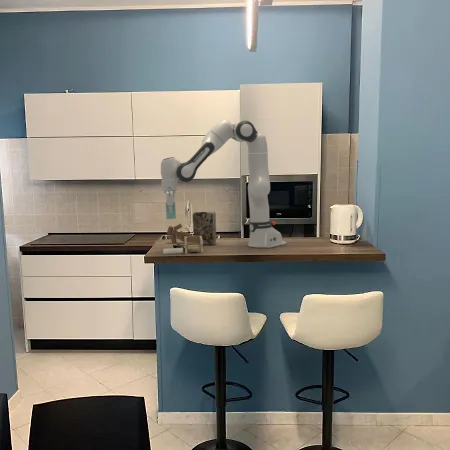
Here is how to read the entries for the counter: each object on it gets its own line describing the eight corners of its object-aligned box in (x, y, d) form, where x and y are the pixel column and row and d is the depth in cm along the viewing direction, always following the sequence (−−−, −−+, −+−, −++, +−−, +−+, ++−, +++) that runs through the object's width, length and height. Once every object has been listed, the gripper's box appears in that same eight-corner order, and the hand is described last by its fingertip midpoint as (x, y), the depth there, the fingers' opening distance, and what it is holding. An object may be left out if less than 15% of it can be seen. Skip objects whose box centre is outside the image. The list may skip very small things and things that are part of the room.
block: (167, 218, 269) (166, 202, 268) (175, 217, 269) (175, 201, 268) (166, 219, 264) (165, 202, 263) (175, 218, 264) (174, 202, 263)
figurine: (185, 249, 293) (164, 239, 296) (186, 248, 296) (165, 239, 299) (192, 230, 290) (170, 220, 293) (193, 229, 292) (172, 219, 295)
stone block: (217, 243, 289) (215, 210, 286) (214, 245, 282) (213, 212, 279) (196, 243, 292) (194, 210, 289) (193, 245, 285) (191, 212, 282)
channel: (185, 248, 277) (184, 236, 276) (202, 247, 278) (201, 235, 277) (185, 254, 260) (184, 241, 259) (203, 253, 261) (202, 240, 260)
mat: (163, 250, 274) (163, 248, 274) (183, 249, 275) (183, 247, 275) (163, 254, 263) (162, 252, 263) (183, 252, 264) (183, 251, 264)
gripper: (175, 188, 254) (176, 213, 256) (175, 185, 274) (177, 209, 276) (163, 188, 254) (164, 214, 256) (164, 186, 274) (166, 210, 276)
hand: (171, 211), depth 266 cm, fingers closed on block, 5 cm apart
